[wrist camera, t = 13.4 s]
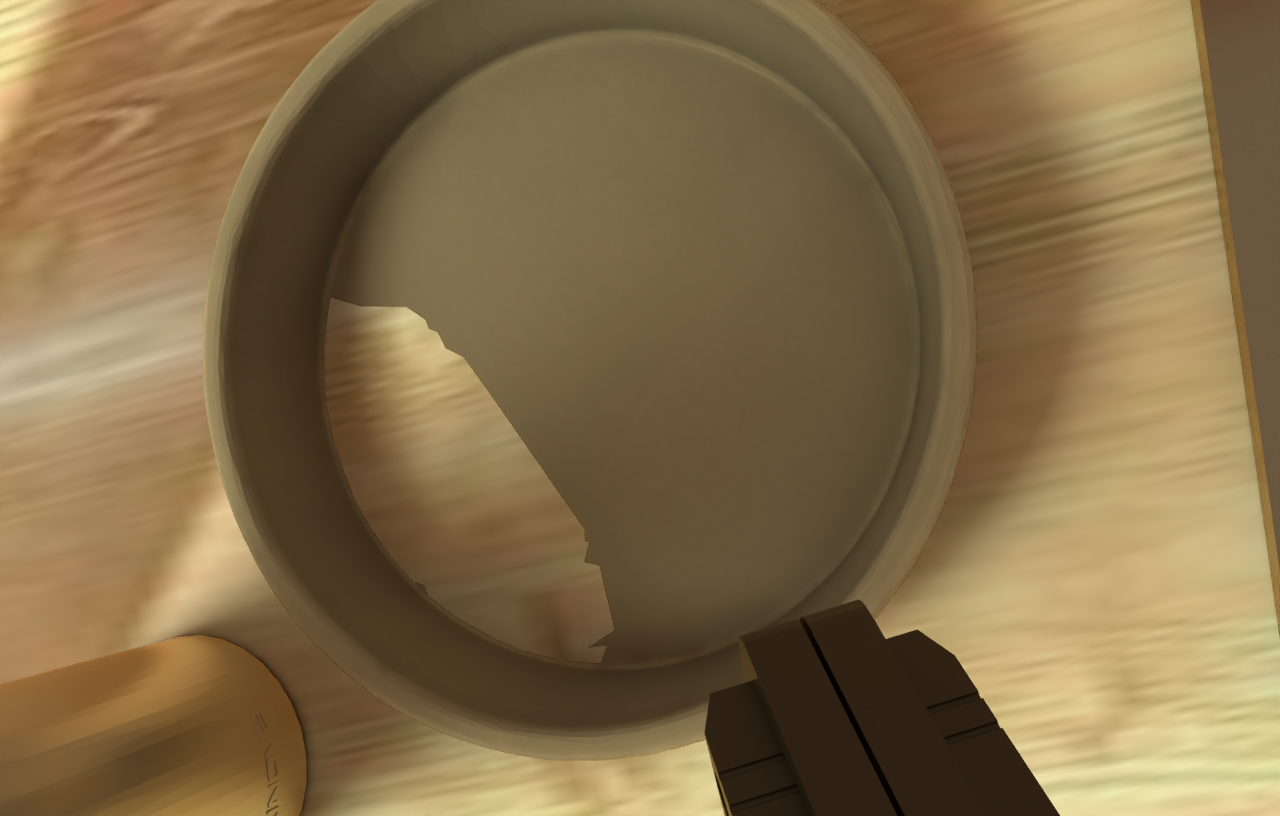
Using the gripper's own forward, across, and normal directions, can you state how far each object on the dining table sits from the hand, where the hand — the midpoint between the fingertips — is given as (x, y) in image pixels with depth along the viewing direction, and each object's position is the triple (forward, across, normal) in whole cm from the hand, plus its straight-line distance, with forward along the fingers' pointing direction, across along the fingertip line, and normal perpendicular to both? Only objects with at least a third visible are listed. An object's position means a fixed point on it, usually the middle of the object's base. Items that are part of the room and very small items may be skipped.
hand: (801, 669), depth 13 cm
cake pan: (+23, 0, +7) cm, 24 cm away
